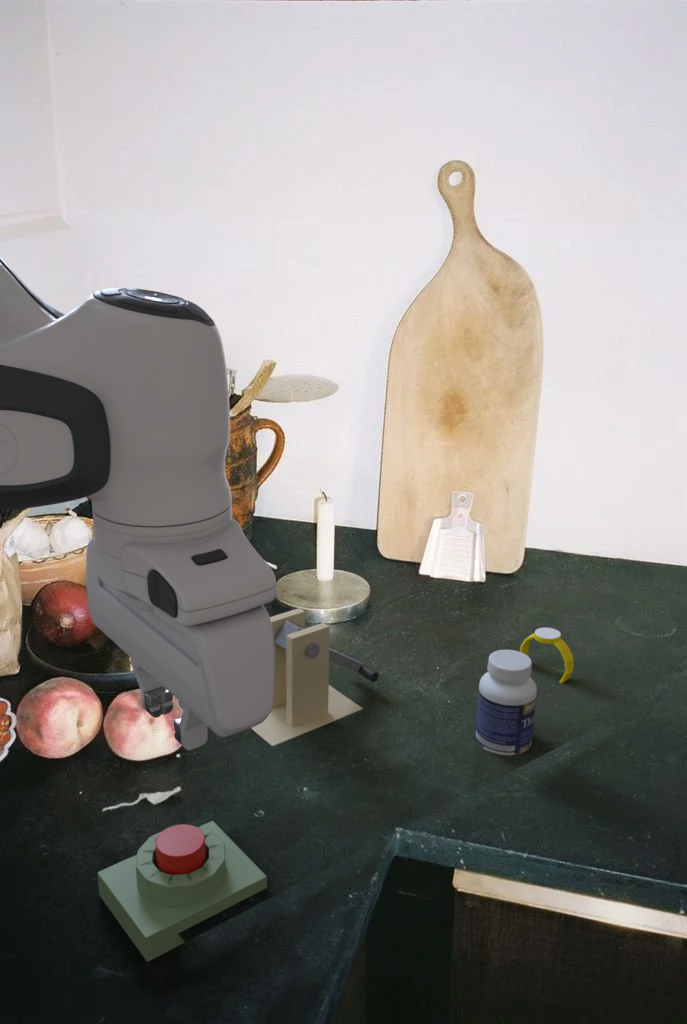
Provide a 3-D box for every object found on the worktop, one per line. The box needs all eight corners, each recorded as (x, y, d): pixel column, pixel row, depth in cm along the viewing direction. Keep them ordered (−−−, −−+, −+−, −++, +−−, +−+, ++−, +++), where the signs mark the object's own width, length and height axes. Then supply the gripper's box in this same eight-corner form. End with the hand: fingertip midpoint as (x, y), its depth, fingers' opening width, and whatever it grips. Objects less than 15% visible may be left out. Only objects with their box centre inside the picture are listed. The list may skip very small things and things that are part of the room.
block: (147, 962, 65) (144, 917, 64) (99, 895, 71) (95, 852, 70) (267, 899, 71) (267, 856, 70) (213, 842, 77) (212, 801, 76)
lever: (342, 669, 100) (353, 649, 100) (372, 689, 96) (383, 668, 97) (266, 636, 92) (277, 614, 92) (295, 656, 88) (307, 633, 88)
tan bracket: (316, 685, 100) (317, 594, 97) (363, 718, 95) (366, 622, 91) (228, 719, 94) (225, 622, 90) (272, 757, 88) (271, 655, 84)
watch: (575, 687, 101) (580, 638, 99) (561, 696, 99) (567, 647, 97) (527, 667, 105) (532, 619, 103) (513, 676, 103) (518, 628, 101)
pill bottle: (529, 769, 87) (538, 677, 84) (471, 760, 88) (478, 669, 85) (532, 737, 92) (541, 649, 89) (477, 729, 93) (484, 642, 90)
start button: (171, 883, 67) (169, 863, 67) (148, 855, 70) (146, 836, 69) (214, 862, 70) (213, 843, 69) (190, 836, 72) (189, 817, 72)
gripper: (56, 509, 67) (72, 678, 72) (199, 613, 52) (207, 819, 57) (137, 492, 71) (147, 655, 75) (293, 585, 55) (292, 781, 60)
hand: (174, 726), depth 66 cm, fingers open, 3 cm apart
